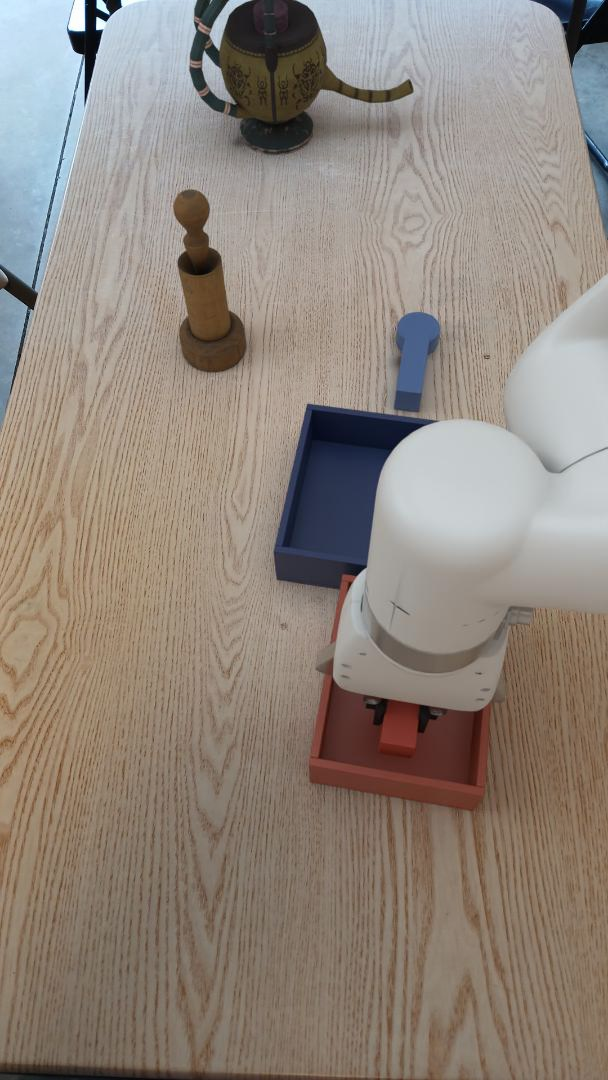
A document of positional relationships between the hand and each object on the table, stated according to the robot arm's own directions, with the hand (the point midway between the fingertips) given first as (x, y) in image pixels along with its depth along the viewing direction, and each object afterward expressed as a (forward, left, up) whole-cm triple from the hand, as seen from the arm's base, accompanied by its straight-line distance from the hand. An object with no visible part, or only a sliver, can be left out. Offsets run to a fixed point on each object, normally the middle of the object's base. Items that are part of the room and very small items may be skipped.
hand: (400, 708), depth 61 cm
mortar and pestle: (+39, -16, -4) cm, 42 cm away
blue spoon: (+23, -28, -4) cm, 36 cm away
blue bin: (+15, -12, -4) cm, 19 cm away
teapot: (+57, -47, -4) cm, 74 cm away
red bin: (+1, -2, -4) cm, 4 cm away
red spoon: (+1, -2, 0) cm, 2 cm away
